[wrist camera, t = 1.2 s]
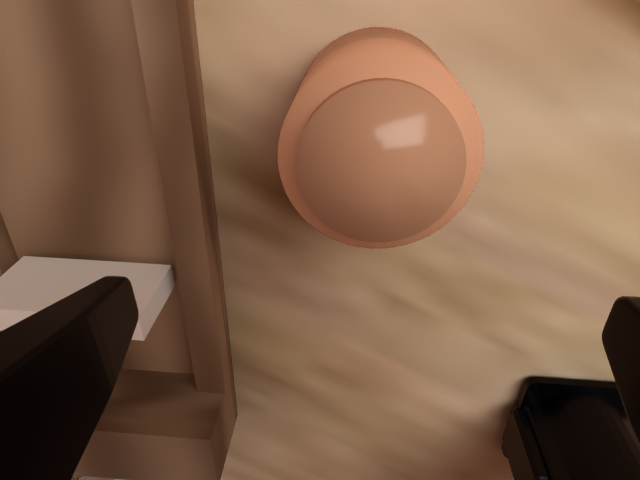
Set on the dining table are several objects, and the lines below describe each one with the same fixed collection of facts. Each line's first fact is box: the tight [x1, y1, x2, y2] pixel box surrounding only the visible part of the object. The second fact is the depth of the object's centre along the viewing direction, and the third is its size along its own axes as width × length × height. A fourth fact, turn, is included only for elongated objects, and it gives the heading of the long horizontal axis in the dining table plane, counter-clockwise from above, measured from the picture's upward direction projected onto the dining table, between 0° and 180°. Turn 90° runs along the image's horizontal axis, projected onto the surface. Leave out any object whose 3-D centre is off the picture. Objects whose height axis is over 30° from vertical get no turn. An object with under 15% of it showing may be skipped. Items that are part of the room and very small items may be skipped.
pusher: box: [0, 256, 175, 341], centre depth 21 cm, size 7×1×4 cm, turn 89°
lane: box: [0, 0, 237, 480], centre depth 20 cm, size 11×26×5 cm, turn 179°
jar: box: [277, 27, 484, 248], centre depth 16 cm, size 6×6×6 cm
